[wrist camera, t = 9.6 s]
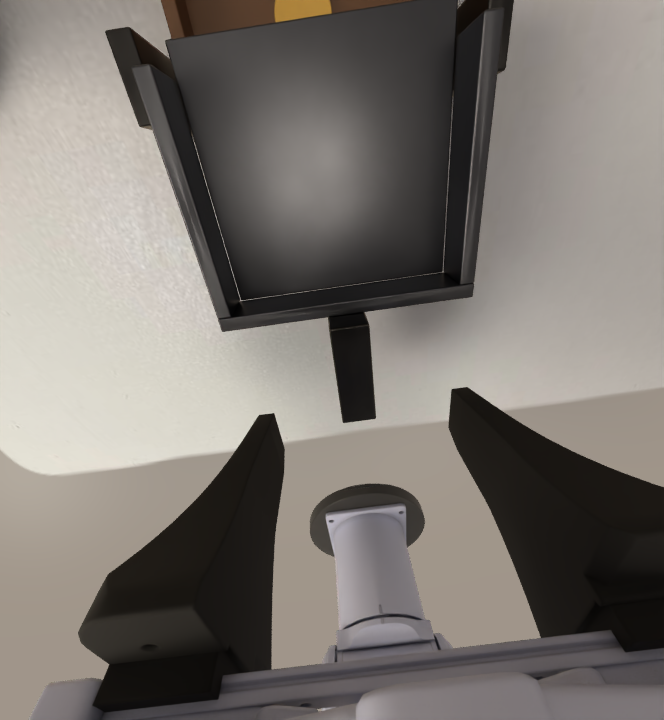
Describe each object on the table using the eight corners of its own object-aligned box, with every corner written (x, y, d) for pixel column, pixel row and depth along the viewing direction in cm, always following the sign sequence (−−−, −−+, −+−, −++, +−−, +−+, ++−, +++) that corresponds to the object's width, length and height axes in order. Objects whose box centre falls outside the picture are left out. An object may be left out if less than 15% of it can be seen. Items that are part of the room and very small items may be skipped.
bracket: (457, 96, 14) (506, 69, 10) (182, 138, 14) (138, 127, 11) (461, 21, 13) (519, -38, 9) (161, 69, 13) (103, 29, 9)
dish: (444, 363, 18) (473, 406, 15) (259, 389, 18) (247, 436, 15) (469, -2, 10) (540, -80, 7) (153, 48, 11) (84, -5, 7)
